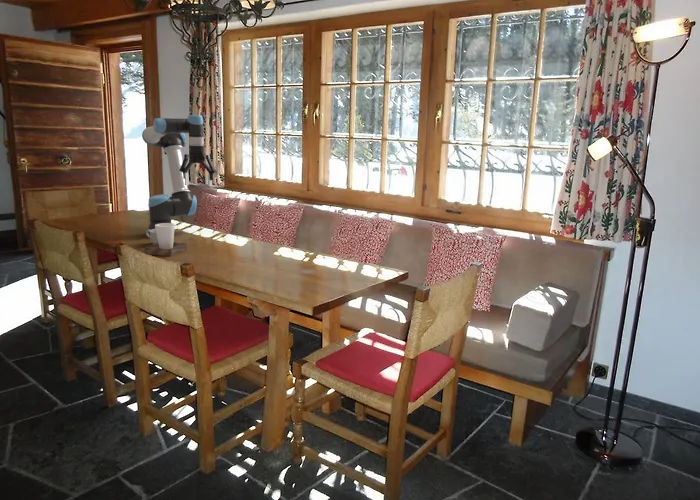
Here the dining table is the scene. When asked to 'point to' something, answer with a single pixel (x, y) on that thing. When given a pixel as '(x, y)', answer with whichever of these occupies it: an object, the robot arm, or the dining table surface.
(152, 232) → the teacup
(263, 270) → the dining table surface
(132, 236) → the dining table surface
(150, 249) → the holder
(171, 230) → the foam cup
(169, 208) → the robot arm
